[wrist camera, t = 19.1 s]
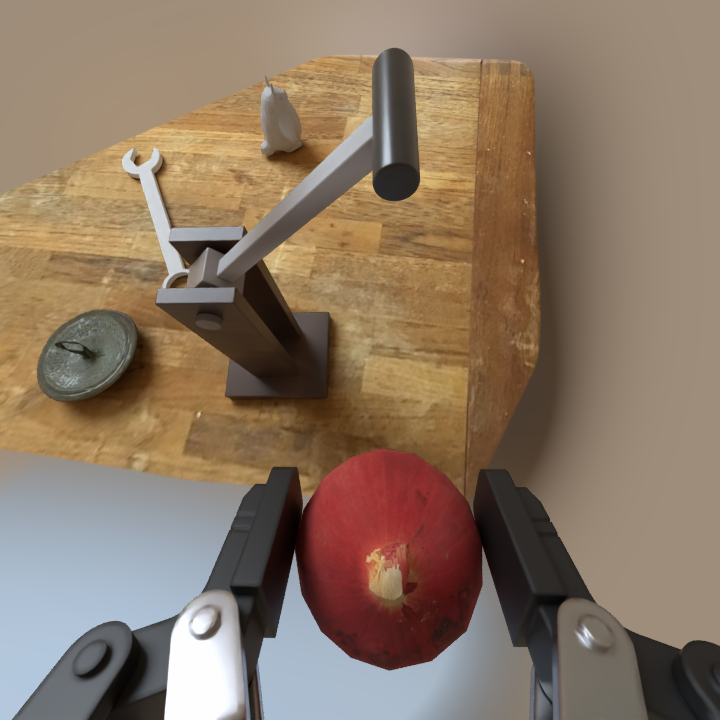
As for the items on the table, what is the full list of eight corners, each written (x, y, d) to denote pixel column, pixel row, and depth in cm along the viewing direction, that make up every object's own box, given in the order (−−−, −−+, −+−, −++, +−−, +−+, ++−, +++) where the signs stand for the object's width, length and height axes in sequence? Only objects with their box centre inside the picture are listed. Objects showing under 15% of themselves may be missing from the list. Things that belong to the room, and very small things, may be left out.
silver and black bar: (429, 82, 12) (386, 21, 10) (438, 193, 10) (389, 142, 9) (229, 262, 23) (193, 247, 21) (219, 329, 21) (180, 318, 20)
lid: (104, 422, 35) (74, 421, 30) (19, 373, 34) (-26, 363, 29) (170, 342, 38) (153, 329, 33) (93, 295, 37) (64, 275, 32)
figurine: (316, 157, 42) (304, 92, 35) (276, 177, 42) (255, 115, 34) (289, 120, 45) (272, 51, 37) (251, 137, 44) (225, 71, 37)
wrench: (157, 144, 44) (122, 157, 44) (154, 140, 43) (118, 153, 43) (209, 294, 37) (167, 311, 36) (206, 291, 36) (163, 308, 36)
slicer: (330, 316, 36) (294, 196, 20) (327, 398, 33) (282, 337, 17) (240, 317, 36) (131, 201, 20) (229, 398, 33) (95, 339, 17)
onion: (480, 543, 14) (613, 640, 6) (369, 637, 13) (363, 884, 5) (396, 428, 15) (418, 393, 8) (292, 506, 14) (202, 551, 7)
